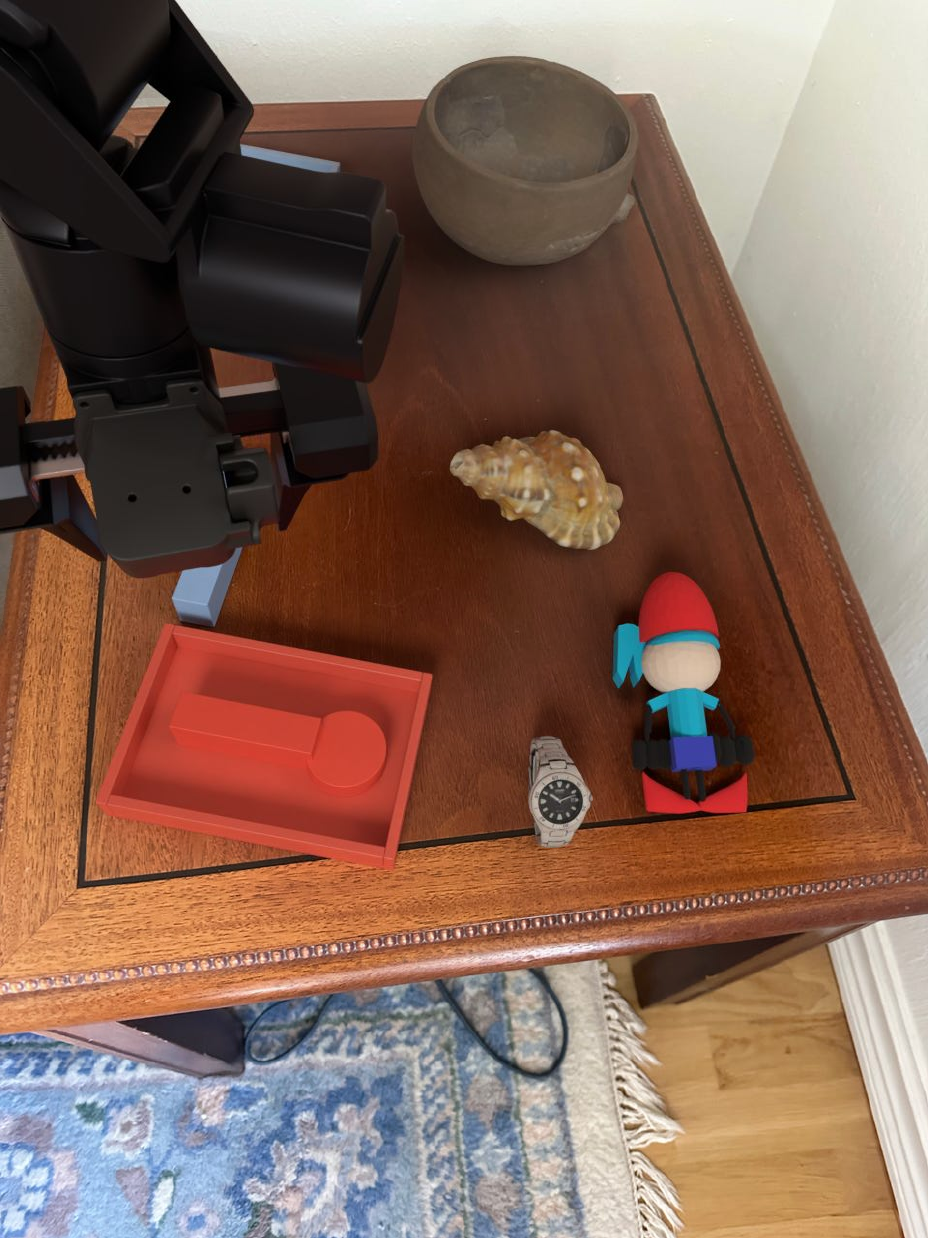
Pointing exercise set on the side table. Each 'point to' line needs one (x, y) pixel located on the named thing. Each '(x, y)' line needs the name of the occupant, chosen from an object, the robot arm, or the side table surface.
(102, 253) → the robot arm
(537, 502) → the seashell
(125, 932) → the side table surface
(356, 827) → the red tray
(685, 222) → the side table surface
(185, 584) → the blue spoon
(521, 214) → the bowl
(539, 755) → the wristwatch
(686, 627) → the toy figure
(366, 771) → the red spoon
